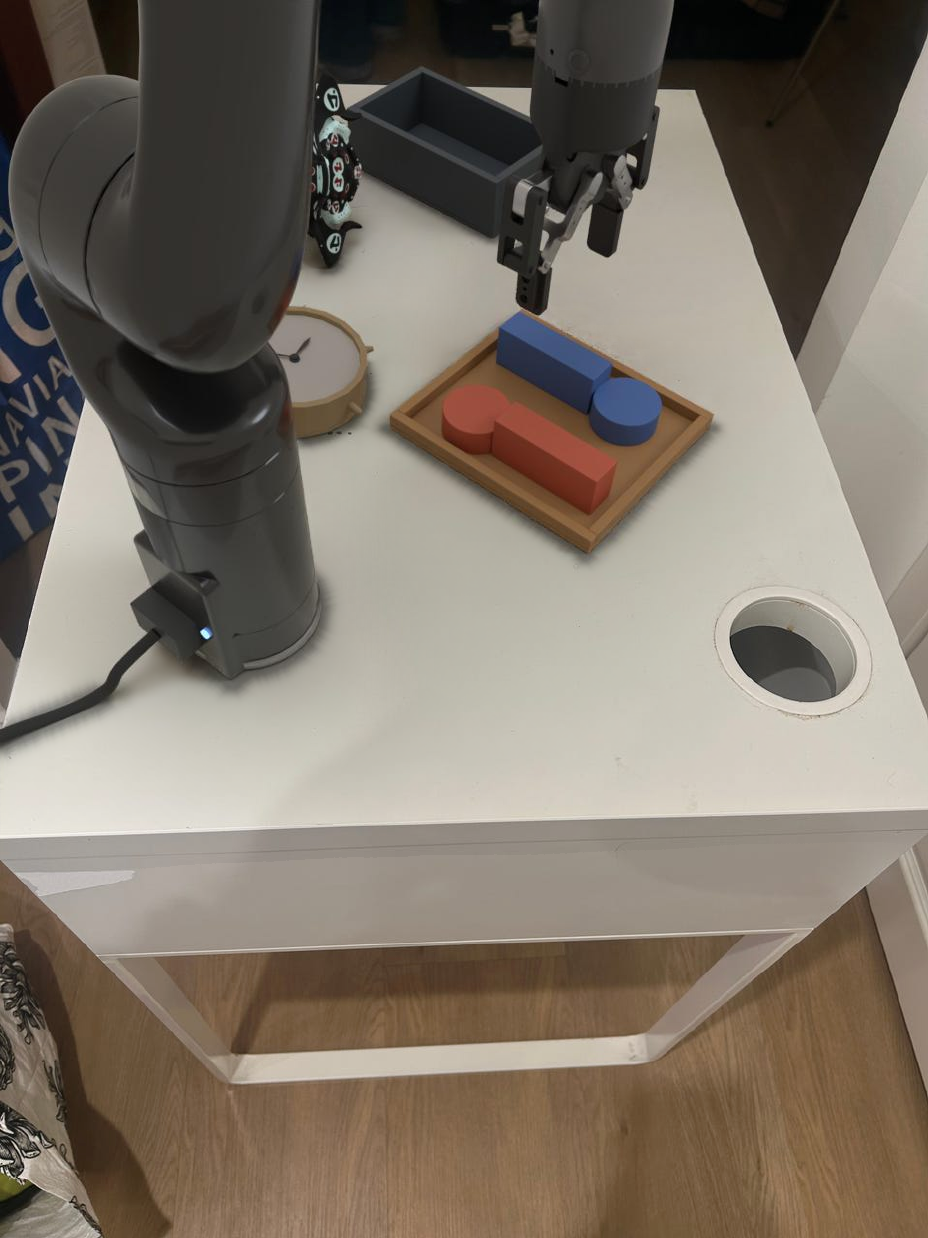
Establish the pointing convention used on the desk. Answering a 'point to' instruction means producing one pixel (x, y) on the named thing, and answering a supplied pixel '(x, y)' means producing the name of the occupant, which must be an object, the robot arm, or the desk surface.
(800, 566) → the desk surface
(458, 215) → the bin
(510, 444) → the red spoon
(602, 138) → the robot arm
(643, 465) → the tray
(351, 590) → the desk surface
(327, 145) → the figurine
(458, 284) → the desk surface
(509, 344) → the blue spoon
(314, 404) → the alarm clock
